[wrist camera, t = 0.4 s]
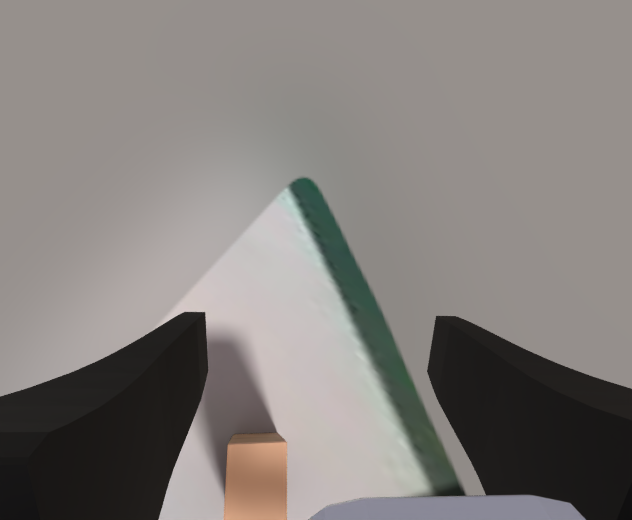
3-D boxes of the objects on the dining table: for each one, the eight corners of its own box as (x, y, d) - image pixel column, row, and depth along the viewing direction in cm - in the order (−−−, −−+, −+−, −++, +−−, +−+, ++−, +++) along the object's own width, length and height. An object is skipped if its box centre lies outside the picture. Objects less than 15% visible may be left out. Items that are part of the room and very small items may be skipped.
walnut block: (276, 507, 33) (286, 546, 24) (229, 510, 33) (221, 552, 23) (277, 432, 35) (286, 442, 26) (233, 434, 35) (227, 444, 26)
